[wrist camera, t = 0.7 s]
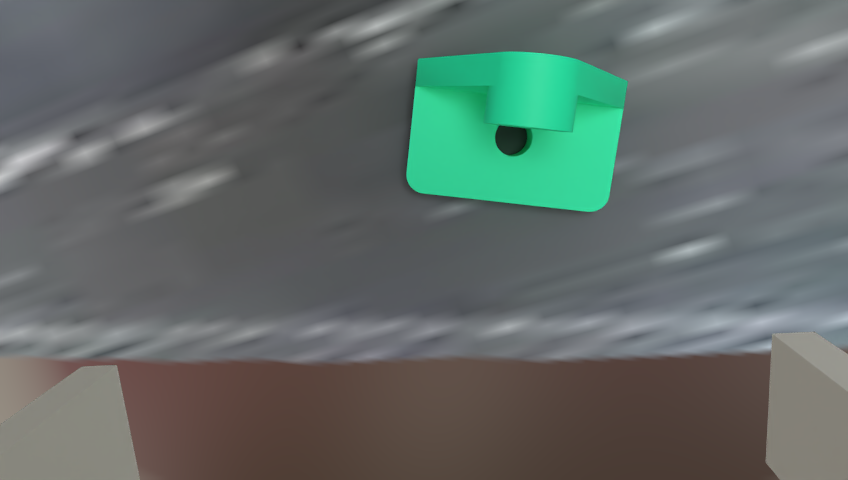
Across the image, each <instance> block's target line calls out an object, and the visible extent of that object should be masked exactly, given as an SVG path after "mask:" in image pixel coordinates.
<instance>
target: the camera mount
mask: <svg viewBox="0 0 848 480" xmlns="http://www.w3.org/2000/svg"><path fill="white" fill-rule="evenodd" d="M627 83H628V81H626V80H623V79H621V78H619V77H617V76H614V75H612V74H610V73H607V72H605V71H603V70H601V69H598V68H596V67H594V66H592V65H589V64H587V63H585V62H582V61H580V60H577V59H574V58H570V57H565V56H559V55H552V54H543V53H532V52H495V53H483V54H470V55H458V56H446V57H433V58H421V59H418V66H417V75H416V85H415V95H414V105H413V114H412V124H411V134H410V144H409V153H408V163H407V173H406V177H407V181H408V183H409V185H410V187H411V188H412V189H414V190H415V191H417V192H419V193H424V194H433V195H442V196H451V197H460V198H469V199H478V200H487V201H496V202H505V203H514V204H523V205H532V206H541V207H550V208H559V209H568V210H577V211H586V212H593V211H597V210H599V209H601V208H602V207H603V206H604V205H605V204H606V203H607V201H608V199H609V194H610V188H611V182H612V176H613V170H614V163H615V157H616V151H617V145H618V139H619V133H620V126H621V120H622V114H623V108H624V102H625V96H626V89H627ZM499 125H502V126H510V127H519V128H525V129H526V132H527V141H526V144H525V146H524V148H523V149H522V150H521V151H519V152H518V153H516V154H512V155H506V154H503V153H502V152H501V151H500V150H499V149H498V147H497V145H496V142H495V134H496V131H497V128H498V127H499Z"/></svg>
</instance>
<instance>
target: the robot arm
mask: <svg viewBox="0 0 848 480" xmlns="http://www.w3.org/2000/svg"><path fill="white" fill-rule="evenodd" d="M766 463H767V464H768V465H769V467H770V468H771V469H772V470H773V471H774V473H775V474H776V475H777V476H778V477H779V479H780V480H848V354H846V353H845V352H843V351H842V350H841V349H839V348H838V347H836V346H835V345H833V344H832V343H830V342H829V341H827V340H826V339H824V338H823V337H821V336H820V335H818V334H817V333H815V332H800V333H779V334H772V351H771V372H770V390H769V410H768V430H767V450H766ZM0 480H140V478H139V473H138V468H137V463H136V458H135V454H134V448H133V443H132V438H131V434H130V429H129V423H128V418H127V414H126V409H125V404H124V399H123V394H122V389H121V384H120V379H119V374H118V369H117V365H107V366H86V367H81V368H79V369H78V370H77V371H75V372H74V373H72V374H71V375H69V376H68V377H66V378H65V379H64V380H62V381H61V382H59V383H58V384H57V385H55V386H54V387H52V388H51V389H49V390H48V391H47V392H45V393H44V394H42V395H41V396H40V397H38V398H37V399H36V400H34V401H33V402H31V403H30V404H28V405H27V406H25V407H24V408H23V409H21V410H20V411H18V412H17V413H15V414H14V415H13V416H11V417H10V418H8V419H7V420H6V421H4V422H3V423H1V424H0Z"/></svg>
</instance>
